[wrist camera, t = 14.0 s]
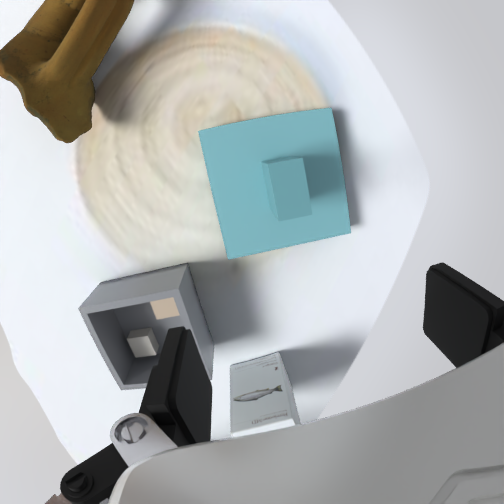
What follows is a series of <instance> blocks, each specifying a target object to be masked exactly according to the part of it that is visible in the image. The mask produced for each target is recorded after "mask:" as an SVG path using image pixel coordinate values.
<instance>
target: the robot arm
mask: <svg viewBox="0 0 504 504" xmlns="http://www.w3.org/2000/svg"><path fill="white" fill-rule="evenodd" d="M423 330H424V333H425V335H426V336H427V337H428V338H429V339H430V340H431V341H432V342H433V343H434V344H435V345H436V346H437V347H438V348H439V349H440V350H441V352H442V353H443V354H444V355H445V356H446V357H447V358H448V359H449V360H450V361H451V362H452V363H453V364H454V366H455V367H456V369H454V370H452V371H449V372H447V373H445V374H443V375H441V376H439V377H436V378H434V379H432V380H430V381H428V382H425V383H423V384H420V385H418V386H416V387H413V388H411V389H408V390H406V391H404V392H401V393H398V394H396V395H393V396H390V397H388V398H385V399H382V400H379V401H377V402H374V403H371V404H368V405H365V406H362V407H359V408H356V409H353V410H350V411H346V412H343V413H340V414H337V415H333V416H330V417H326V418H322V419H318V420H314V421H311V422H307V423H303V424H298V425H294V426H290V427H285V428H281V429H276V430H271V431H266V432H261V433H255V434H250V435H244V436H238V437H233V438H227V439H221V440H215V441H210V438H211V410H212V385H211V382H210V379H209V377H208V374H207V372H206V369H205V367H204V364H203V361H202V359H201V356H200V353H199V351H198V348H197V345H196V343H195V340H194V337H193V334H192V332H191V330H190V329H186V328H185V327H184V326H181V327H175V328H169V329H168V332H167V335H166V338H165V341H164V345H163V348H162V351H161V355H160V358H159V361H158V365H154V366H153V368H152V370H151V373H150V376H149V380H148V383H147V386H146V390H145V393H144V396H143V400H142V403H141V407H140V410H139V413H133V414H128V415H126V416H124V417H122V418H120V419H119V420H118V421H116V422H115V424H114V425H113V426H112V428H111V431H110V438H111V441H112V444H110V445H109V446H107V447H106V448H104V449H103V450H101V451H99V452H98V453H96V454H95V455H93V456H92V457H90V458H89V459H87V460H85V461H84V462H82V463H81V464H79V465H77V466H76V467H74V468H72V469H71V470H69V471H68V472H67V473H66V474H65V475H64V477H63V478H62V481H61V484H60V489H61V492H62V493H61V494H60V495H59V496H56V495H55V494H54V495H53V496H52V497H51V498H50V499H49V500H48V501H47V502H46V503H45V504H504V301H503V300H501V299H500V298H498V297H497V296H495V295H494V294H492V293H491V292H489V291H488V290H486V289H485V288H483V287H482V286H480V285H478V284H477V283H475V282H474V281H472V280H471V279H469V278H467V277H466V276H464V275H463V274H461V273H460V272H458V271H456V270H455V269H453V268H451V267H450V266H448V265H446V264H445V263H439V264H436V265H432V266H430V268H429V270H428V271H427V274H426V293H425V310H424V322H423Z"/></svg>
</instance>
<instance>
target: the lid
mask: <svg viewBox="0 0 504 504" xmlns="http://www.w3.org/2000/svg"><path fill="white" fill-rule="evenodd" d="M198 132H199V137H200V141H201V146H202V150H203V155H204V159H205V164H206V168H207V173H208V177H209V181H210V186H211V190H212V194H213V199H214V203H215V207H216V211H217V216H218V220H219V224H220V228H221V232H222V236H223V241H224V245H225V249H226V253H227V257H228V260H229V259H234V258H238V257H243V256H247V255H252V254H257V253H261V252H266V251H271V250H275V249H280V248H284V247H289V246H294V245H298V244H303V243H307V242H312V241H317V240H321V239H326V238H330V237H335V236H340V235H344V234H349V233H351V228H350V220H349V211H348V203H347V196H346V188H345V181H344V175H343V168H342V162H341V156H340V150H339V144H338V139H337V133H336V128H335V123H334V118H333V113H332V108H324V109H316V110H308V111H300V112H293V113H287V114H280V115H274V116H268V117H262V118H257V119H251V120H246V121H241V122H236V123H231V124H227V125H222V126H218V127H213V128H209V129H205V130H200V131H198Z"/></svg>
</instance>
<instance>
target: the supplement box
mask: <svg viewBox="0 0 504 504" xmlns="http://www.w3.org/2000/svg"><path fill="white" fill-rule="evenodd" d="M298 424H301V423H300V419H299V415H298V411H297V407H296V403H295V399H294V394H293V390H292V386H291V383H290V380H289V377H288V374H287V372H286V369H285V366H284V363H283V361H282V358H281V355H280V353H279V352H276V353H274V354H271V355H268V356H265V357H261V358H258V359H254V360H251V361H247V362H243V363H239V364H235V365H231V366H230V433H231V435H232V437H238V436H244V435H250V434H255V433H261V432H266V431H271V430H276V429H281V428H285V427H290V426H294V425H298Z"/></svg>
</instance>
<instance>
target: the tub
mask: <svg viewBox="0 0 504 504" xmlns="http://www.w3.org/2000/svg"><path fill="white" fill-rule="evenodd" d="M79 311H80V313H81V315H82V317H83V319H84V322H85V324H86V326H87V328H88V330H89V332H90V334H91V336H92V338H93V340H94V342H95V344H96V346H97V348H98V350H99V352H100V354H101V355H102V357H103V359H104V361H105V363H106V365H107V366H108V368H109V370H110V372H111V374H112V375H113V377H114V379H115V381H116V382H117V384H118V386H119V387H120V389H121V390H129V389H141V388H146V386H147V383H148V380H149V376H150V373H151V370H152V368H153V366H154V365H158V361H159V358H160V355H161V351H162V348H163V345H164V341H165V338H166V335H167V332H168V329H169V328H175V327H181V326H184V327H185V328H186V329H190V330H191V332H192V334H193V337H194V340H195V343H196V345H197V348H198V351H199V353H200V356H201V359H202V361H203V364H204V367H205V369H206V372H207V374H208V377H209V379H210V380H212V372H213V356H214V343H213V340H212V337H211V334H210V331H209V329H208V326H207V323H206V320H205V316H204V313H203V310H202V307H201V304H200V301H199V298H198V295H197V292H196V288H195V285H194V282H193V279H192V275H191V272H190V269H189V266H188V263H185V264H180V265H176V266H171V267H167V268H162V269H158V270H154V271H149V272H145V273H140V274H136V275H131V276H127V277H123V278H118V279H114V280H109V281H105V282H101V283H100V284H99V285H98V286H97V287H96V288H95V290H94V291H93V292H92V293H91V294H90V295H89V297H88V298H87V299H86V300H85V301H84V302H83V304H82V305H81V306H80V307H79Z"/></svg>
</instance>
